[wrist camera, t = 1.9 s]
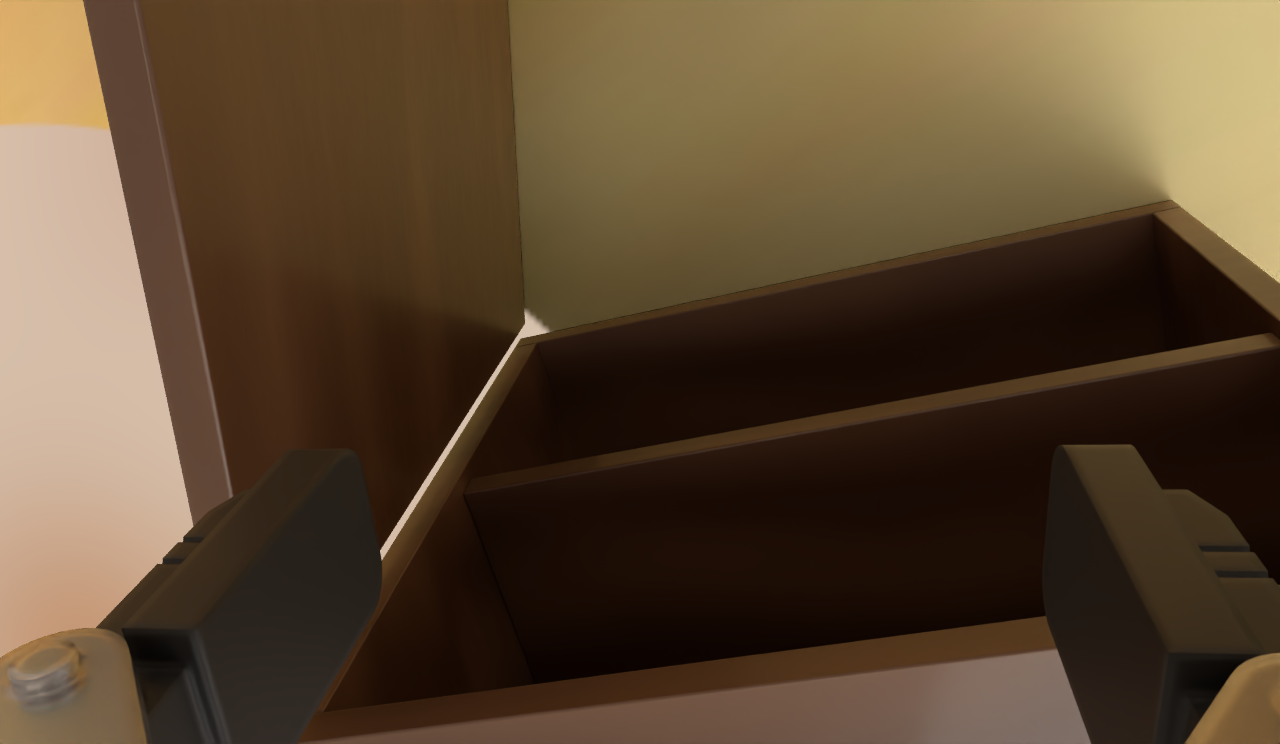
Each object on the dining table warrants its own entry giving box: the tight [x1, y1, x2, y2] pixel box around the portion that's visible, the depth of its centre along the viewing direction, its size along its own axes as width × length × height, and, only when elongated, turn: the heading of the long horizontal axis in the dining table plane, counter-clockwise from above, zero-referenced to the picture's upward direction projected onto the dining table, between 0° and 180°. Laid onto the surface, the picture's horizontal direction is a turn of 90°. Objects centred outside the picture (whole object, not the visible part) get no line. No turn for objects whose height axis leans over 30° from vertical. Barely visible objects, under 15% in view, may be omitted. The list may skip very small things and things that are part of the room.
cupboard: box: [297, 200, 1280, 744], centre depth 34 cm, size 18×26×24 cm
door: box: [83, 0, 525, 550], centre depth 29 cm, size 7×26×24 cm, turn 0°
